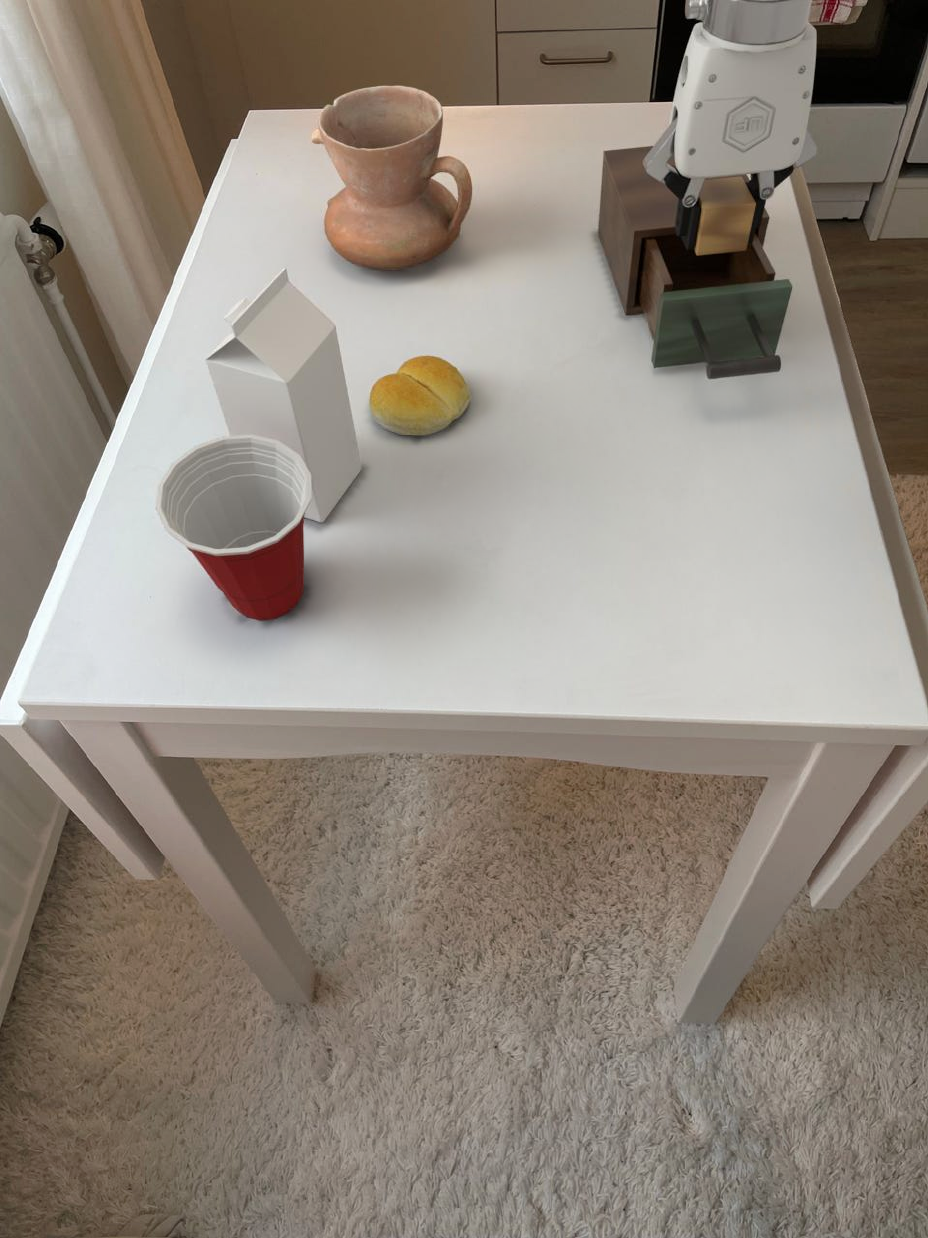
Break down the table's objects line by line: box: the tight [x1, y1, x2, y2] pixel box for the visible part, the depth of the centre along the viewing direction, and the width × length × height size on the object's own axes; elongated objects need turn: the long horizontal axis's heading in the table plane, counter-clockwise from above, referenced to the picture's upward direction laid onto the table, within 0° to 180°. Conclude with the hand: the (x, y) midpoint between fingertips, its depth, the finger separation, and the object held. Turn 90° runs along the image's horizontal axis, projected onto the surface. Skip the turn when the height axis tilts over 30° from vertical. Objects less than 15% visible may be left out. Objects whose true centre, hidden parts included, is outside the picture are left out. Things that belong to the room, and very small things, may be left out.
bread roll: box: [369, 355, 472, 436], centre depth 86 cm, size 8×9×4 cm
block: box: [694, 176, 756, 256], centre depth 82 cm, size 4×4×4 cm
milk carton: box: [205, 267, 362, 523], centre depth 75 cm, size 7×7×19 cm
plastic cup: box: [155, 435, 311, 621], centre depth 71 cm, size 11×11×12 cm
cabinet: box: [597, 145, 771, 316], centre depth 95 cm, size 15×13×9 cm
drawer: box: [636, 234, 794, 380], centre depth 87 cm, size 21×11×7 cm, turn 6°
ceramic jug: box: [310, 85, 473, 271], centre depth 98 cm, size 18×14×14 cm
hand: (715, 235), depth 84 cm, fingers closed on block, 4 cm apart
